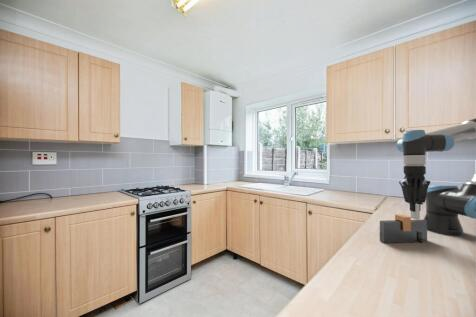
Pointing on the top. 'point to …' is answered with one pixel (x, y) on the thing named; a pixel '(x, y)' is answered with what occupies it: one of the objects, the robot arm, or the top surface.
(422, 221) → the arm
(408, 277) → the top surface
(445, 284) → the top surface
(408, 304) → the top surface
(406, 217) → the orange slotted clip
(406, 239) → the tongs hinged arm
